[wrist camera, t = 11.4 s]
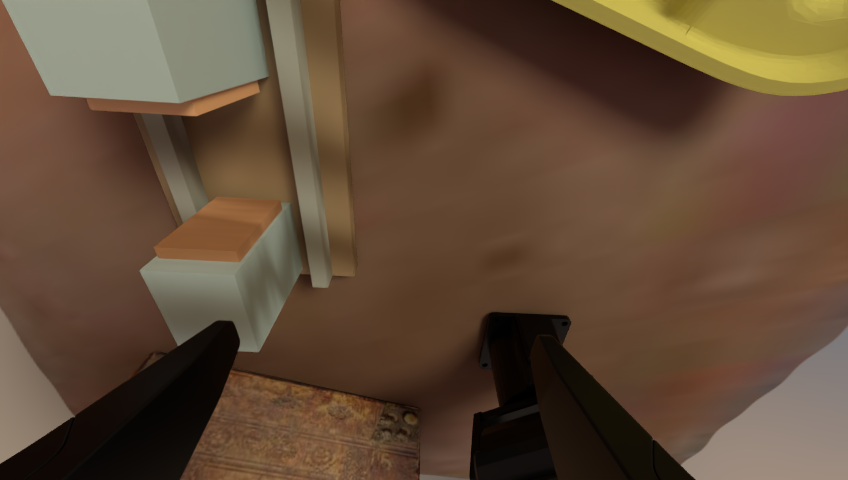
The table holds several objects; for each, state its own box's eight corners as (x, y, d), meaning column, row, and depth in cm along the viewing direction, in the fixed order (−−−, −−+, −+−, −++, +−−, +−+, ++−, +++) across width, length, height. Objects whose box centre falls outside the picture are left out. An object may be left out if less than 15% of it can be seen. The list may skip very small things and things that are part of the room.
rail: (357, 266, 24) (329, 361, 17) (204, 258, 24) (113, 352, 17) (335, -64, 14) (251, -148, 8) (78, -82, 14) (-251, -185, 7)
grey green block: (271, 89, 17) (186, 122, 11) (190, 84, 17) (60, 115, 11) (245, -58, 14) (107, -123, 8) (147, -65, 14) (-67, -136, 8)
